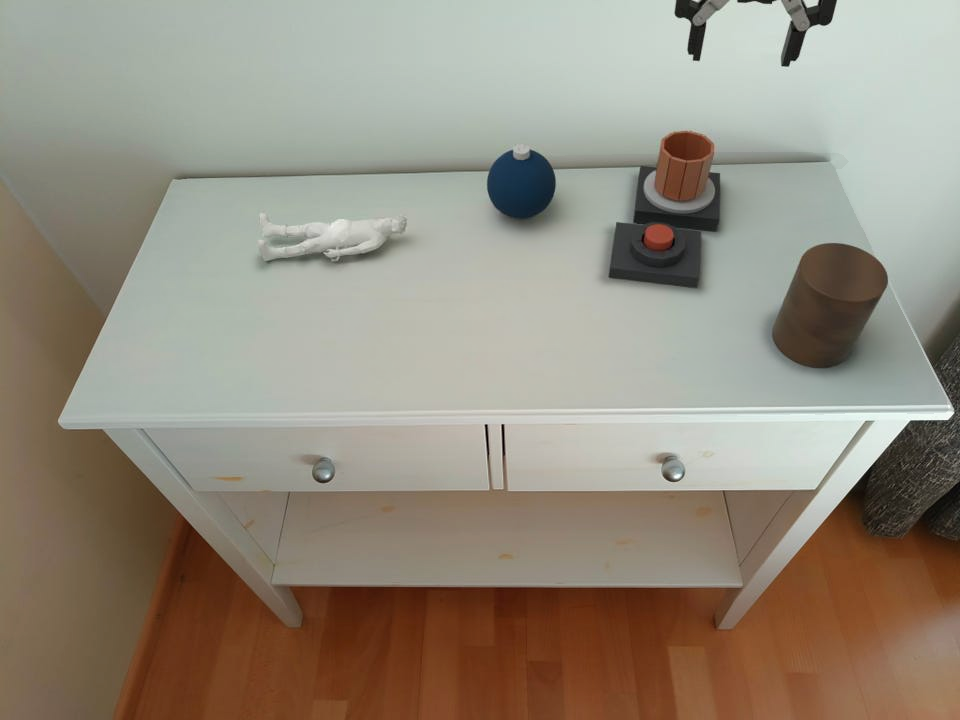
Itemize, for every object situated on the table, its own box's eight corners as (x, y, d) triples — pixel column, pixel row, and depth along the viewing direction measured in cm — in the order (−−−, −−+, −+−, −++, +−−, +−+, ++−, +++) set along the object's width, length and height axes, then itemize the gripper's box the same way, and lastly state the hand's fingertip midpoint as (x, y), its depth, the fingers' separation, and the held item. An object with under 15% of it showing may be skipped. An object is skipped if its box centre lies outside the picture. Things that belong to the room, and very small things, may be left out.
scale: (716, 185, 95) (721, 168, 92) (716, 231, 89) (720, 215, 87) (638, 178, 96) (641, 161, 94) (632, 222, 91) (635, 206, 89)
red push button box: (698, 241, 88) (703, 221, 86) (696, 288, 83) (702, 269, 81) (615, 231, 90) (617, 212, 87) (608, 277, 85) (611, 258, 83)
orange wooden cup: (704, 174, 92) (714, 132, 87) (703, 206, 88) (714, 164, 83) (655, 169, 93) (662, 128, 88) (652, 201, 89) (659, 160, 84)
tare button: (672, 234, 85) (674, 225, 84) (671, 253, 83) (673, 244, 82) (644, 231, 86) (646, 222, 85) (642, 250, 84) (644, 241, 83)
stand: (847, 315, 80) (882, 247, 72) (854, 373, 75) (893, 306, 67) (770, 306, 81) (797, 238, 73) (773, 362, 76) (802, 295, 68)
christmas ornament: (531, 182, 96) (532, 114, 89) (567, 217, 92) (572, 149, 84) (476, 204, 94) (472, 137, 86) (510, 242, 89) (509, 174, 82)
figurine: (259, 211, 89) (405, 189, 89) (270, 234, 93) (411, 213, 92) (255, 254, 85) (408, 231, 85) (267, 276, 89) (414, 255, 88)
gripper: (692, -109, 60) (665, 75, 73) (879, -106, 57) (817, 85, 70) (696, -142, 65) (670, 37, 77) (869, -140, 62) (813, 45, 75)
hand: (740, 60), depth 74 cm, fingers open, 8 cm apart
